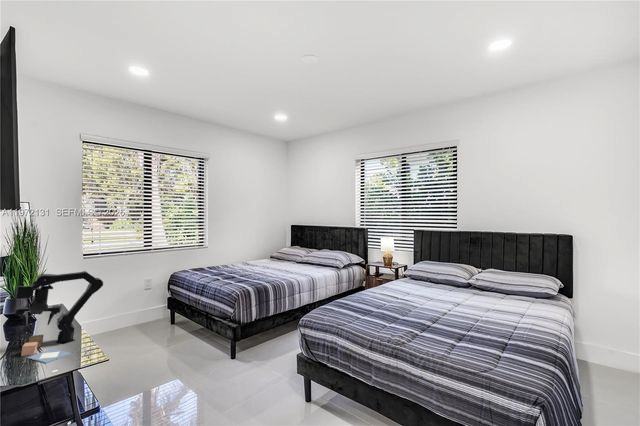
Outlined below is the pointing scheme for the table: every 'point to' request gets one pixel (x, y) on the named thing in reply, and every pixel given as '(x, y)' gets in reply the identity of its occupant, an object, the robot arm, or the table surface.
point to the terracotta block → (29, 348)
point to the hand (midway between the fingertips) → (37, 325)
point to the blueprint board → (49, 355)
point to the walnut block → (36, 339)
